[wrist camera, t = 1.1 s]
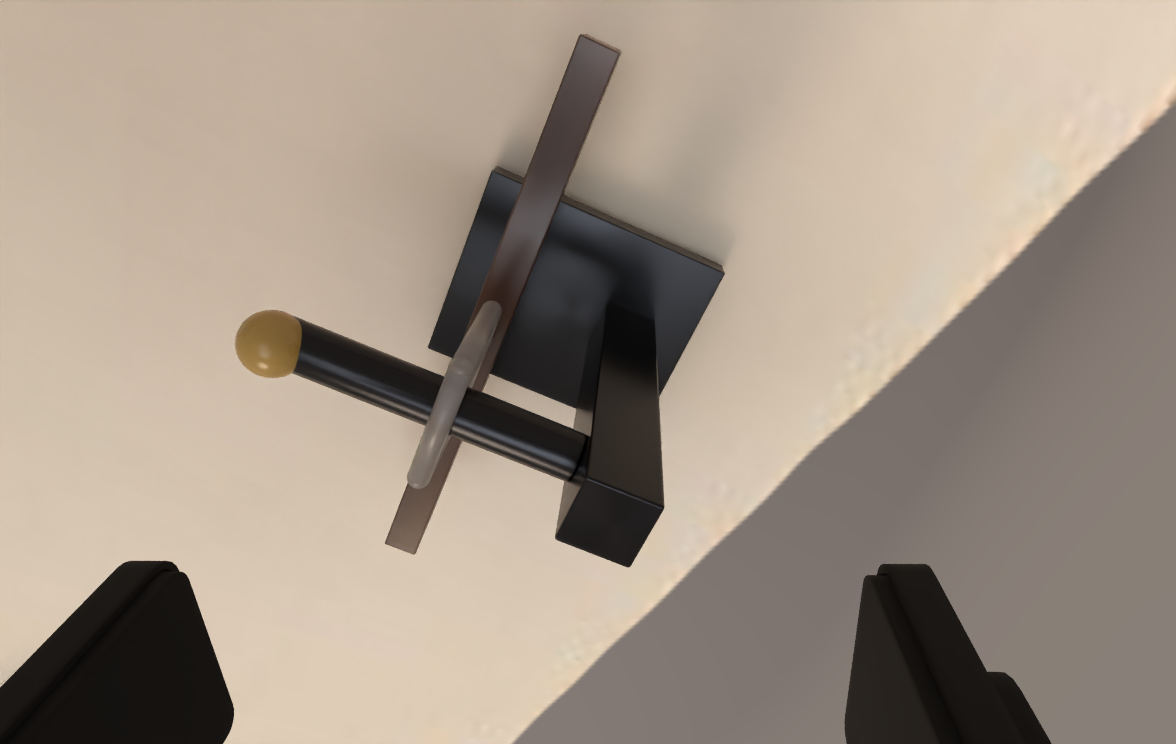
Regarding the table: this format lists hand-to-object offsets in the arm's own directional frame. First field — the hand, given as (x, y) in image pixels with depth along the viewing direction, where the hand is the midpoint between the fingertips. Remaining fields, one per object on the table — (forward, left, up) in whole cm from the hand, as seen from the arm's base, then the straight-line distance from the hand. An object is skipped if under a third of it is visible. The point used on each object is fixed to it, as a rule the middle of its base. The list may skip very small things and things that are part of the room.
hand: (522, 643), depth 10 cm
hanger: (-3, -4, -20) cm, 21 cm away
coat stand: (-2, -4, -25) cm, 25 cm away
